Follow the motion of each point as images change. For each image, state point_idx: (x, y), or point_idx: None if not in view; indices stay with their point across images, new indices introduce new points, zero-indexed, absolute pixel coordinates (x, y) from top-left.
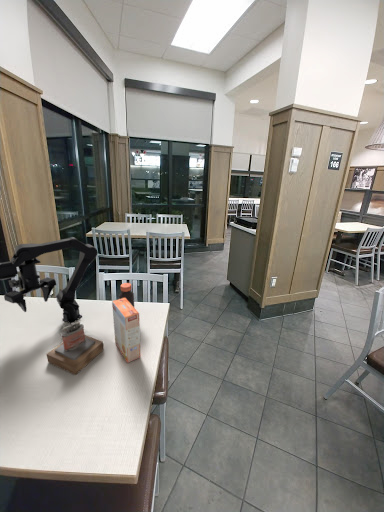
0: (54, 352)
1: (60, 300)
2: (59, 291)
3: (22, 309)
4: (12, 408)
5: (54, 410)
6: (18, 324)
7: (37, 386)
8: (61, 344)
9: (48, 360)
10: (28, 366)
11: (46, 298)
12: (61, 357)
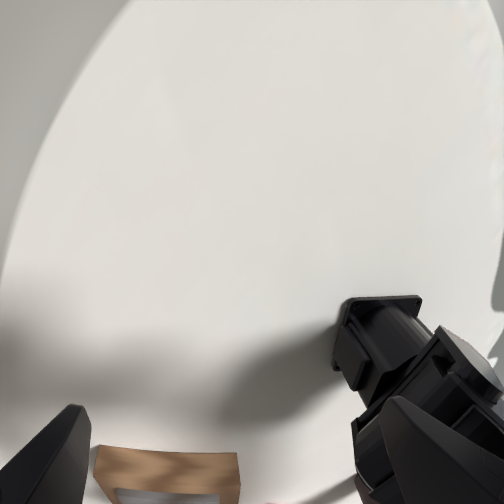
0: (115, 487)
1: (381, 502)
2: (500, 458)
3: (47, 434)
4: (3, 446)
5: None
6: (197, 44)
7: None
8: (153, 486)
9: (98, 455)
10: (48, 410)
11: (395, 467)
12: (119, 501)
